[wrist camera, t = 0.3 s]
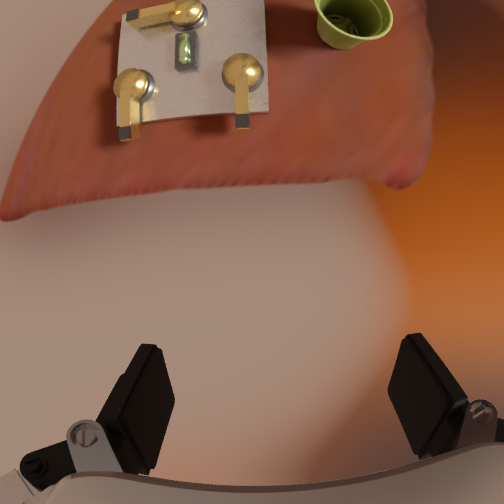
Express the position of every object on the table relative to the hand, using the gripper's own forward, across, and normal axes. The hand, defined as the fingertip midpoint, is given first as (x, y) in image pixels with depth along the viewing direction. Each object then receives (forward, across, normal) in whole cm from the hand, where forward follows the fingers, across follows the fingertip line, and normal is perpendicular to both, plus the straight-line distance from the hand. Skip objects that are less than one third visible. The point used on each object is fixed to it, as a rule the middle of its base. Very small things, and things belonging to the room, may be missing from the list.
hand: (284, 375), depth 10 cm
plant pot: (+30, -11, -26) cm, 42 cm away
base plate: (+30, +9, -23) cm, 39 cm away
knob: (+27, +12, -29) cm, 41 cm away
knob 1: (+28, +16, -16) cm, 36 cm away
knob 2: (+28, +2, -16) cm, 32 cm away
